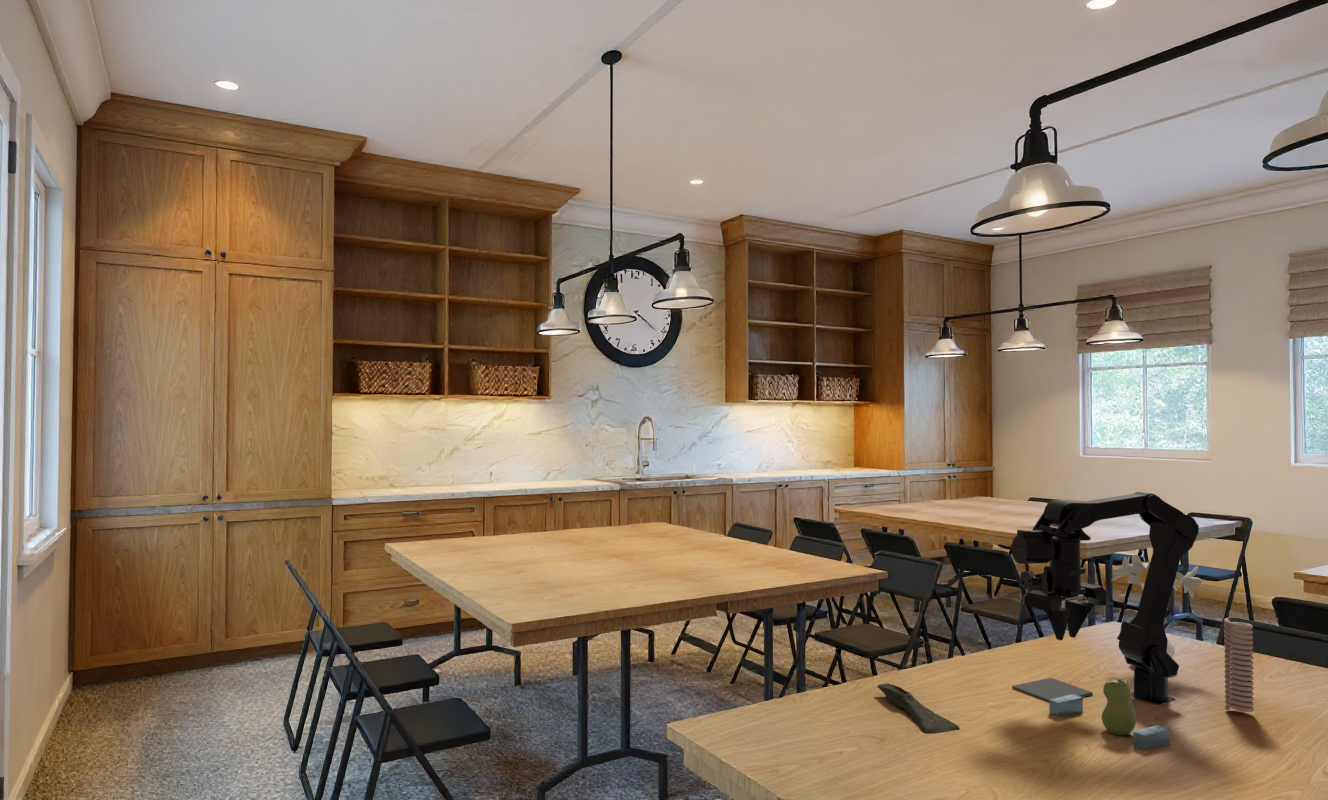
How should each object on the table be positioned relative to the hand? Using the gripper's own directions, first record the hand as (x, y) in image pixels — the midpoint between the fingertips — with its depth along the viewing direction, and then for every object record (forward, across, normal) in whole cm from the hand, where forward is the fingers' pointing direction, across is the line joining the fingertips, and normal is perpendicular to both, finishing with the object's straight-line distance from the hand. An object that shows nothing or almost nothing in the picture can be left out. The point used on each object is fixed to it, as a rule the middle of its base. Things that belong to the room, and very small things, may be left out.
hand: (1065, 638), depth 161 cm
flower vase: (+13, -41, -7) cm, 44 cm away
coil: (+13, -26, +19) cm, 35 cm away
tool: (+14, +30, -10) cm, 35 cm away
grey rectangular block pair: (+13, +6, +12) cm, 19 cm away
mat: (+13, -2, -5) cm, 14 cm away
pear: (+13, +6, +15) cm, 21 cm away
